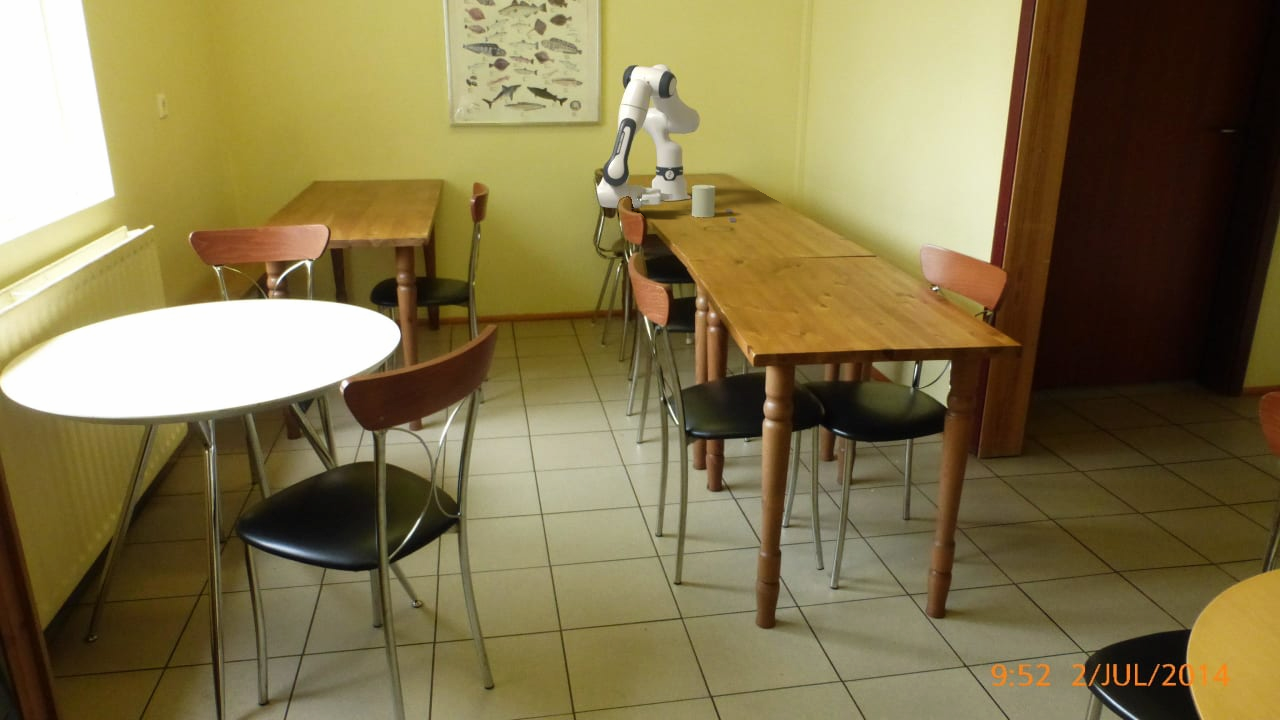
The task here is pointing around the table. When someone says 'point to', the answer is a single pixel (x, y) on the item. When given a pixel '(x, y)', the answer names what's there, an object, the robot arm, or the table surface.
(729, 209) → the strip
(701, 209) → the can
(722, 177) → the table surface
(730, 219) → the line strip
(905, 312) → the table surface
